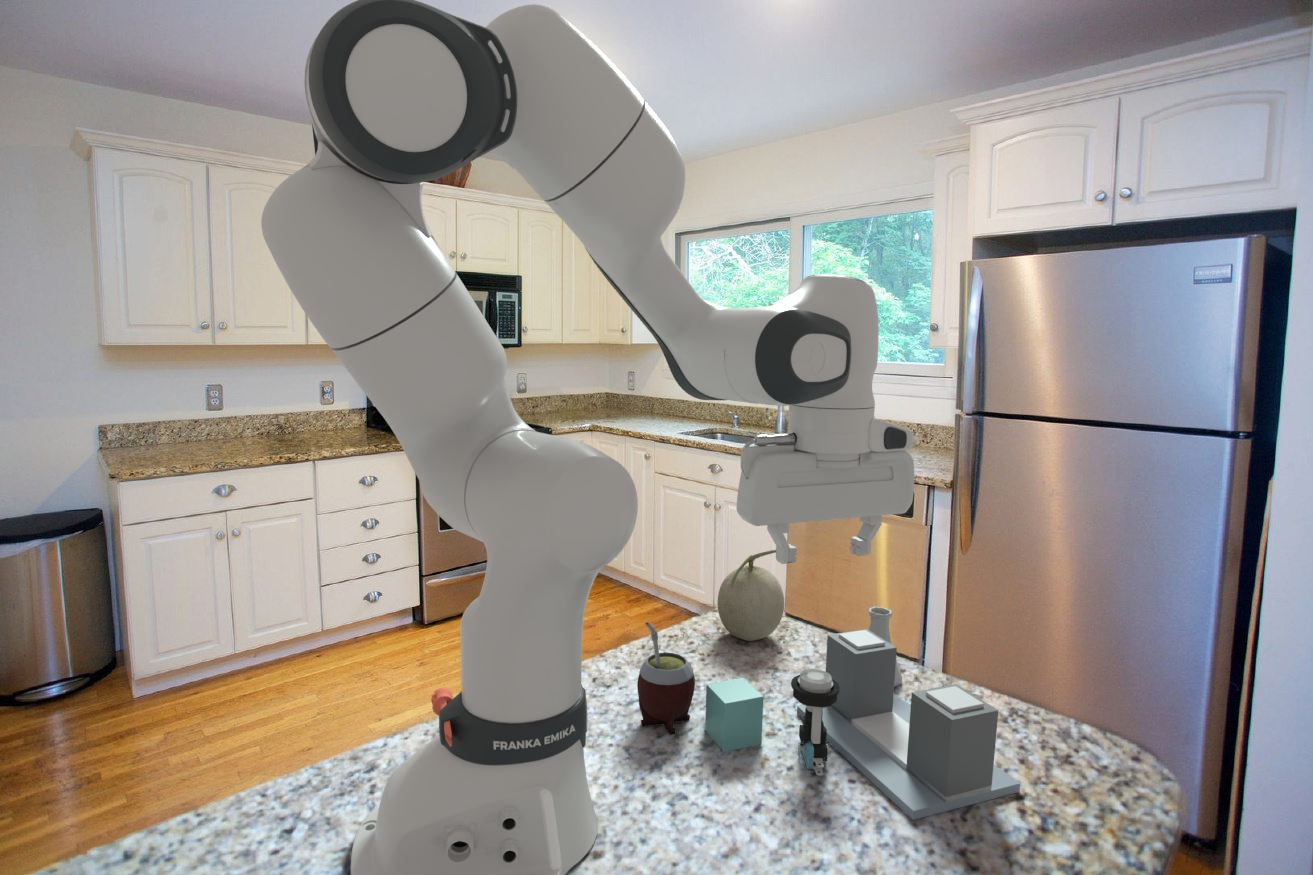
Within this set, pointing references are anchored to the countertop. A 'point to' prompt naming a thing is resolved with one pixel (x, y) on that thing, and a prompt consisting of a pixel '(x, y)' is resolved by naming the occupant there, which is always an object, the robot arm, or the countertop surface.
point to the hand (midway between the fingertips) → (823, 558)
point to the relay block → (734, 714)
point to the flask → (883, 632)
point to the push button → (814, 714)
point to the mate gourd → (665, 688)
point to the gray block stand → (910, 732)
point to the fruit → (751, 601)
